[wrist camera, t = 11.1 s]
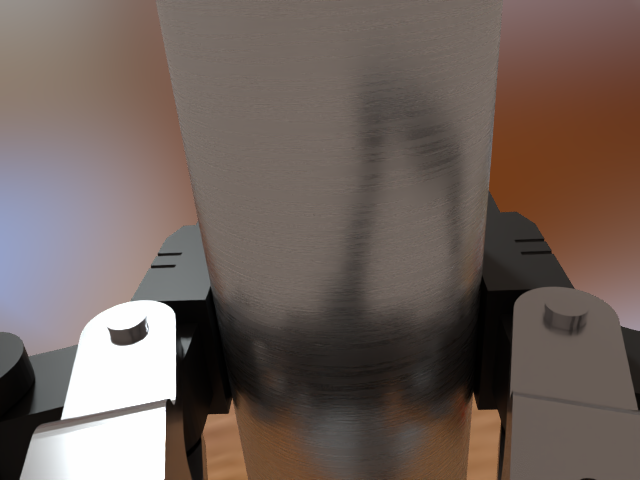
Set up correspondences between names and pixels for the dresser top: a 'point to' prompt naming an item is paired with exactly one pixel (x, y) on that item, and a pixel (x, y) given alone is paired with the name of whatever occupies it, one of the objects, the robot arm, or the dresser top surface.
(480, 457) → the dresser top surface
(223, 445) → the dresser top surface
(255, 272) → the steel rod
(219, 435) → the dresser top surface
